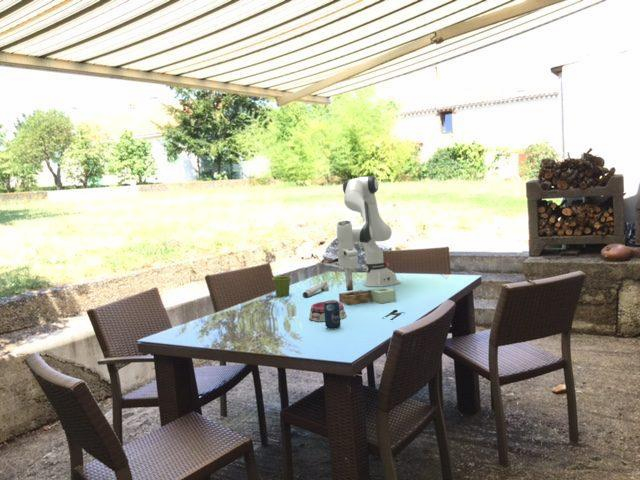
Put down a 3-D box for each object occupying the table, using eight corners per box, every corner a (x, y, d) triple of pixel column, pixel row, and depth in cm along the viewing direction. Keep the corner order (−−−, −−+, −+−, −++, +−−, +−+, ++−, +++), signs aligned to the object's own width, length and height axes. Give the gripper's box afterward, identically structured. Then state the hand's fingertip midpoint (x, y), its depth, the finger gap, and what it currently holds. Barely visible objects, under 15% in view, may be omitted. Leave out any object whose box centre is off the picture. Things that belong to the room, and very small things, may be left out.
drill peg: (351, 289, 294) (349, 264, 292) (354, 290, 290) (352, 265, 289) (345, 290, 293) (343, 265, 291) (348, 291, 289) (345, 266, 288)
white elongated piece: (301, 291, 315) (322, 278, 336) (302, 302, 317) (323, 288, 337) (308, 292, 312) (329, 278, 333) (310, 302, 314) (330, 288, 334)
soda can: (335, 329, 236) (333, 303, 235) (322, 328, 240) (320, 302, 239) (343, 326, 242) (341, 300, 241) (330, 325, 245) (328, 299, 244)
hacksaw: (394, 312, 263) (394, 309, 263) (413, 313, 257) (413, 310, 257) (372, 324, 242) (372, 321, 242) (393, 325, 237) (392, 322, 237)
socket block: (362, 297, 301) (361, 290, 300) (371, 301, 289) (370, 293, 289) (339, 301, 296) (338, 293, 296) (347, 305, 285) (346, 297, 284)
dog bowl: (354, 315, 261) (353, 302, 260) (328, 324, 248) (327, 310, 247) (327, 312, 274) (326, 299, 273) (301, 320, 261) (300, 306, 260)
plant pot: (270, 297, 324) (268, 279, 323) (278, 293, 335) (277, 276, 333) (287, 297, 319) (286, 279, 318) (295, 293, 330) (294, 276, 329)
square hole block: (387, 298, 295) (386, 287, 294) (395, 301, 285) (395, 290, 285) (371, 300, 292) (370, 289, 291) (379, 303, 282) (378, 292, 282)
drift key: (376, 297, 298) (376, 288, 298) (378, 298, 296) (378, 289, 296) (357, 300, 294) (356, 291, 294) (359, 301, 292) (358, 292, 292)
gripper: (334, 249, 298) (336, 274, 299) (348, 253, 279) (350, 279, 280) (344, 248, 300) (346, 272, 302) (359, 251, 281) (361, 277, 282)
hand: (348, 275), depth 291 cm, fingers closed on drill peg, 4 cm apart
